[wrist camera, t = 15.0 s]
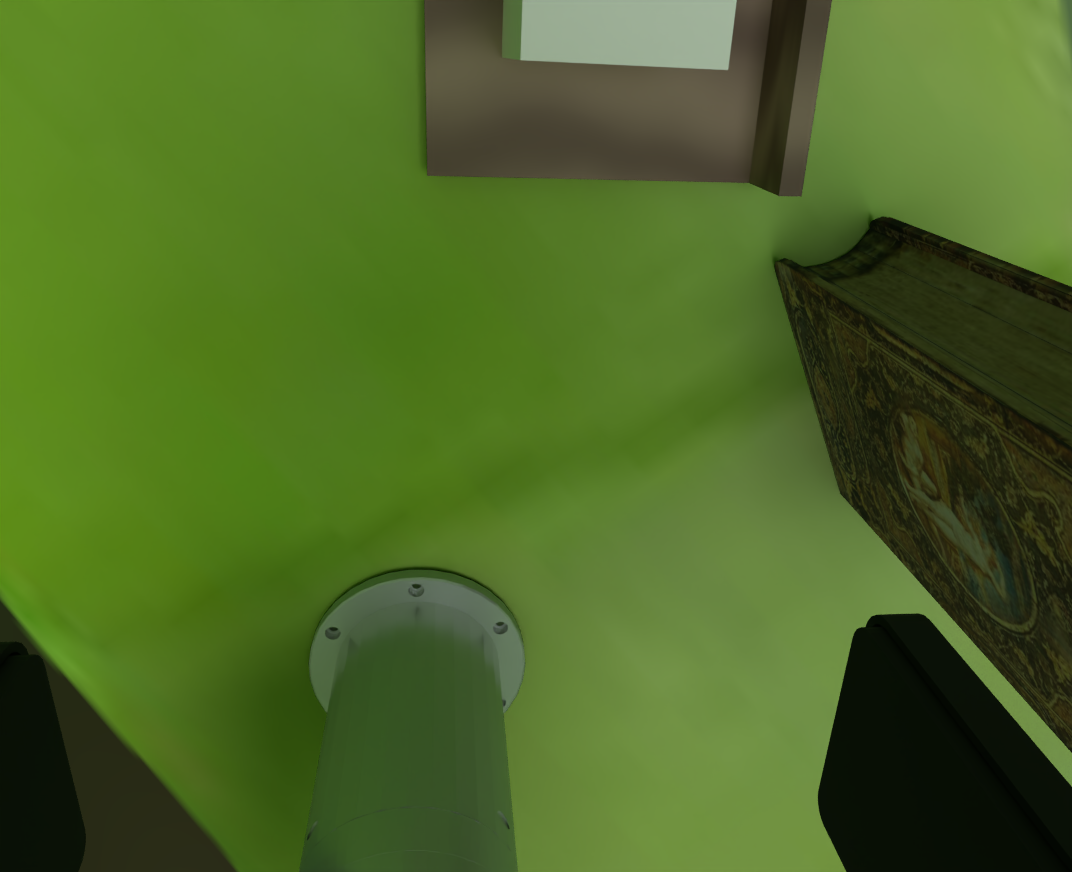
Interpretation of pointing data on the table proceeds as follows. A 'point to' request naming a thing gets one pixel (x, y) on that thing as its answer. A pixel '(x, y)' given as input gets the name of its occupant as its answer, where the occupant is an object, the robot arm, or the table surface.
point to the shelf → (625, 104)
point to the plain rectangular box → (620, 32)
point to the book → (954, 434)
